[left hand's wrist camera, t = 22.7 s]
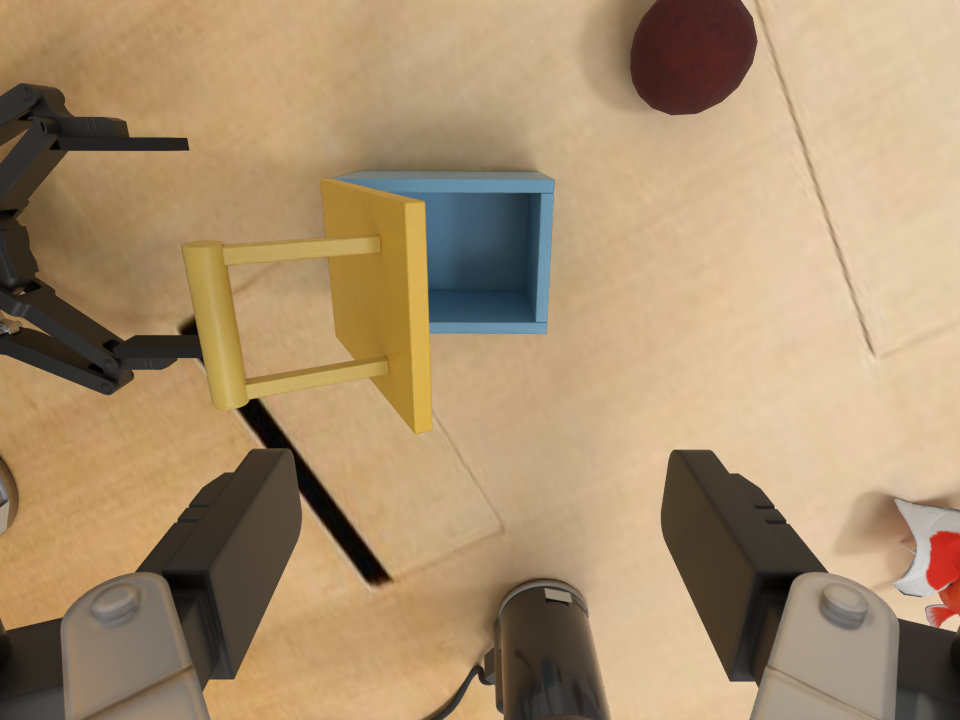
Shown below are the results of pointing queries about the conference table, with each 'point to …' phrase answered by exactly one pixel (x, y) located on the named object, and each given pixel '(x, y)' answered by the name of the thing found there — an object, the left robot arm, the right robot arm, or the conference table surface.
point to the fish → (933, 558)
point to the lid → (355, 296)
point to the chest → (481, 245)
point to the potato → (691, 53)
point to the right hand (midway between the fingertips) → (198, 252)
